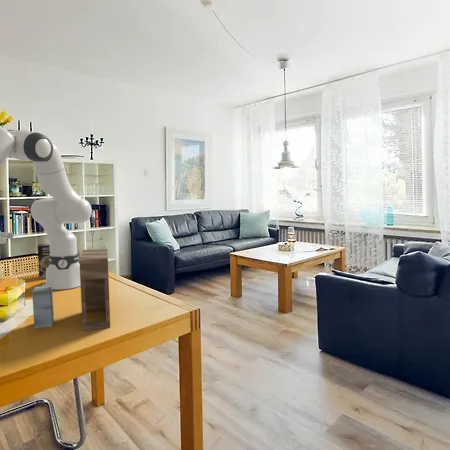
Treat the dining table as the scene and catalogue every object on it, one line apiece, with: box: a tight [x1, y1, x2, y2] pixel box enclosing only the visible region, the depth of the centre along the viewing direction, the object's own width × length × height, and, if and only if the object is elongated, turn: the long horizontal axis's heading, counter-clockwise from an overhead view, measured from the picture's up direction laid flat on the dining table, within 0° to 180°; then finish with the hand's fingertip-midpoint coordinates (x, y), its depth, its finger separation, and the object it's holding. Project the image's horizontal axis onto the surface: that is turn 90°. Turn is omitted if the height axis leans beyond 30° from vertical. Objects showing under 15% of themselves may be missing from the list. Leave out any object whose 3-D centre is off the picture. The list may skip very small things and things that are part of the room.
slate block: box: [31, 285, 55, 329], centre depth 117 cm, size 5×5×12 cm
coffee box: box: [37, 243, 50, 280], centre depth 177 cm, size 9×6×16 cm
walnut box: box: [78, 248, 111, 332], centre depth 121 cm, size 18×8×22 cm, turn 18°
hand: (9, 237), depth 116 cm, fingers open, 8 cm apart
